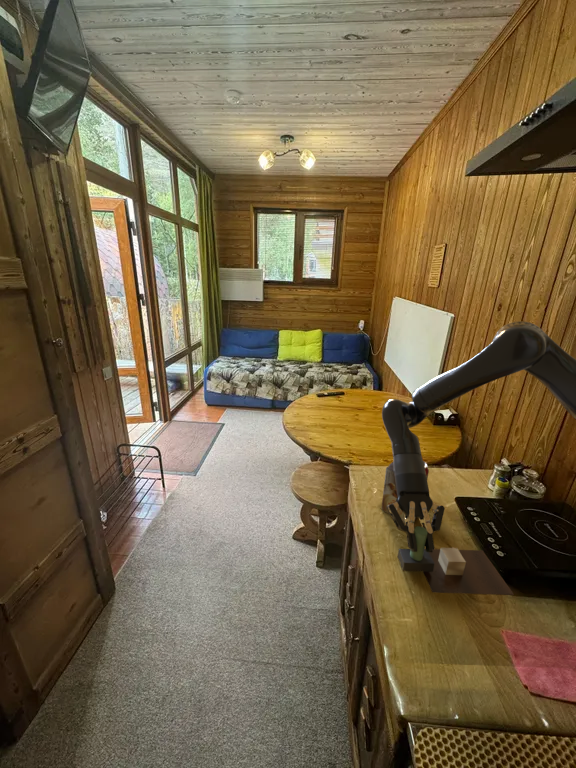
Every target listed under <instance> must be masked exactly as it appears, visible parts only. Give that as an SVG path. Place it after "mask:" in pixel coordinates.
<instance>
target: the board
mask: <svg viewBox="0 0 576 768" xmlns="http://www.w3.org/2000/svg"><path fill="white" fill-rule="evenodd" d="M424 549H425V548H424ZM440 549H441V548H434V549H432V550H433V552H429V554H430V556H431V558H432V560H433V562H434V569H433V572H426V571H422V573H423V575H424V577H425V579H426V582H427V584H428V586H429V588H430V590H431V593H434V594H463V595H464V594H470V595H496V596H497V595H501V596H506V595H507V596H515V594H514V592H513V591H512V589H511V588H510V586H509V585H508V584H507V582H506V581H505V580H504V578H503V577H502V575H501V574H500V573H499V571H498V570H497V568H496V567H495V565H494V564H493V563H492V562H491V560H490V559H489V557H488V556H487V554H486V553H485V552H484V550H482V549H481V550H479V549H458V550H459V552H460V553H461V555H462V557H463V558H464V560H465V561H466V564H465V568H464V572H463V575H446V574H445V573H444V571H443V569H442V567H441V565H440V563H439V561H438V558H439V554H440ZM425 550H426V549H425Z"/></svg>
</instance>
